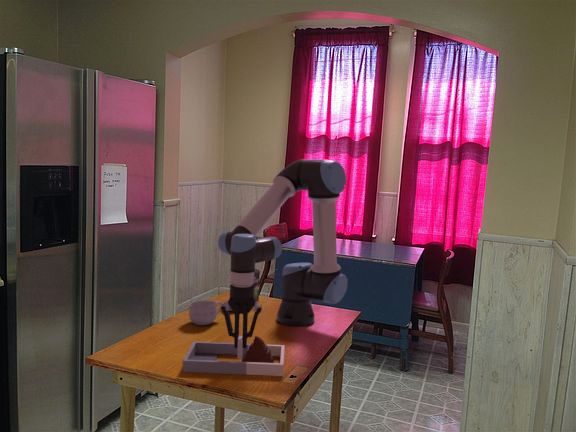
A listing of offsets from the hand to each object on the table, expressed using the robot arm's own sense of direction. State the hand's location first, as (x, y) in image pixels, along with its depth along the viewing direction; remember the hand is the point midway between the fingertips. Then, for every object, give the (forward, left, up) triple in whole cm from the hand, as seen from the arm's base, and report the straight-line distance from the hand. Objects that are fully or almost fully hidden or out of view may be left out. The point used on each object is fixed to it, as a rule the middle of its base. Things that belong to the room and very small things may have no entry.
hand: (240, 357), depth 161 cm
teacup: (+3, -41, -2) cm, 42 cm away
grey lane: (+6, -2, -2) cm, 7 cm away
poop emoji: (-5, +2, -2) cm, 6 cm away
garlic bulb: (-10, -54, -2) cm, 55 cm away
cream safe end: (-7, +3, -2) cm, 8 cm away
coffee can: (-20, -66, -2) cm, 69 cm away
